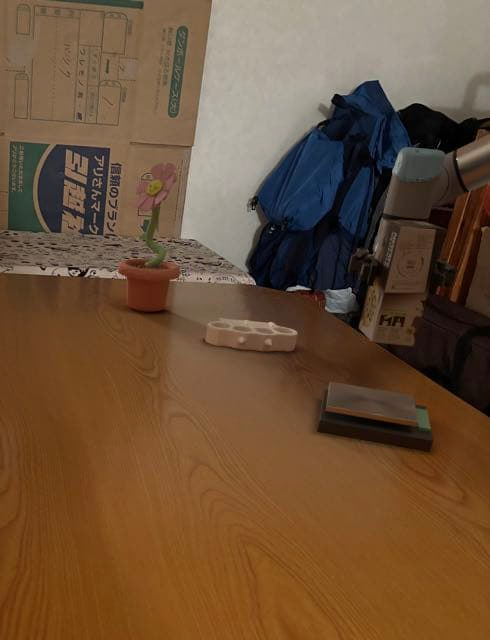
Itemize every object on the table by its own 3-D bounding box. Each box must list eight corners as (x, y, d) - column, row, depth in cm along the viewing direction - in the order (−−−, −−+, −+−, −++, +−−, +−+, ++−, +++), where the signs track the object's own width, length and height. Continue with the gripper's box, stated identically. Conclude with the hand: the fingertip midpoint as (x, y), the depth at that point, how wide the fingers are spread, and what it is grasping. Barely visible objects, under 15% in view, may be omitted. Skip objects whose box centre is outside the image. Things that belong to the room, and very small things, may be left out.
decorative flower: (101, 301, 179) (113, 156, 164) (151, 298, 185) (167, 159, 170) (134, 317, 167) (151, 164, 153) (186, 314, 174) (207, 167, 159)
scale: (422, 416, 125) (426, 403, 124) (429, 452, 112) (434, 437, 111) (322, 399, 129) (325, 386, 128) (317, 431, 115) (320, 417, 114)
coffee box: (415, 347, 112) (448, 228, 105) (370, 343, 113) (400, 224, 105) (398, 331, 120) (428, 220, 113) (356, 327, 121) (383, 216, 113)
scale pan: (411, 402, 123) (413, 395, 123) (415, 429, 112) (418, 421, 112) (328, 388, 126) (329, 381, 126) (324, 413, 115) (326, 405, 115)
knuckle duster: (284, 336, 163) (300, 356, 151) (200, 329, 163) (208, 349, 150) (288, 320, 162) (304, 339, 149) (202, 313, 161) (211, 331, 148)
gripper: (457, 288, 126) (472, 318, 107) (329, 271, 131) (322, 296, 112) (472, 240, 123) (491, 261, 104) (340, 224, 128) (334, 242, 108)
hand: (403, 280), depth 108 cm, fingers closed on coffee box, 8 cm apart
